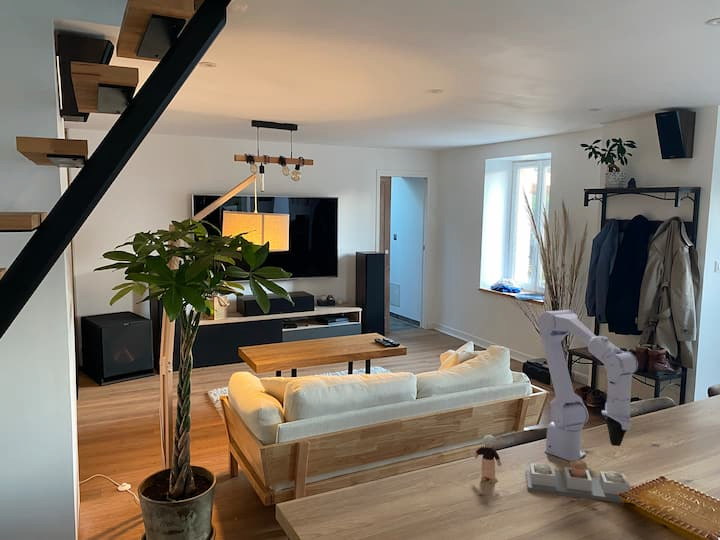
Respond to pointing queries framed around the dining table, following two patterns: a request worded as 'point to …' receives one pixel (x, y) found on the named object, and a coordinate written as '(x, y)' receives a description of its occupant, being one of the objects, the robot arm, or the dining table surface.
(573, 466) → the middle knob
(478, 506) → the dining table surface
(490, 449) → the grandmother figurine
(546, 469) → the knob
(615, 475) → the knob
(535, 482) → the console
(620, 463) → the dining table surface
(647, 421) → the dining table surface
